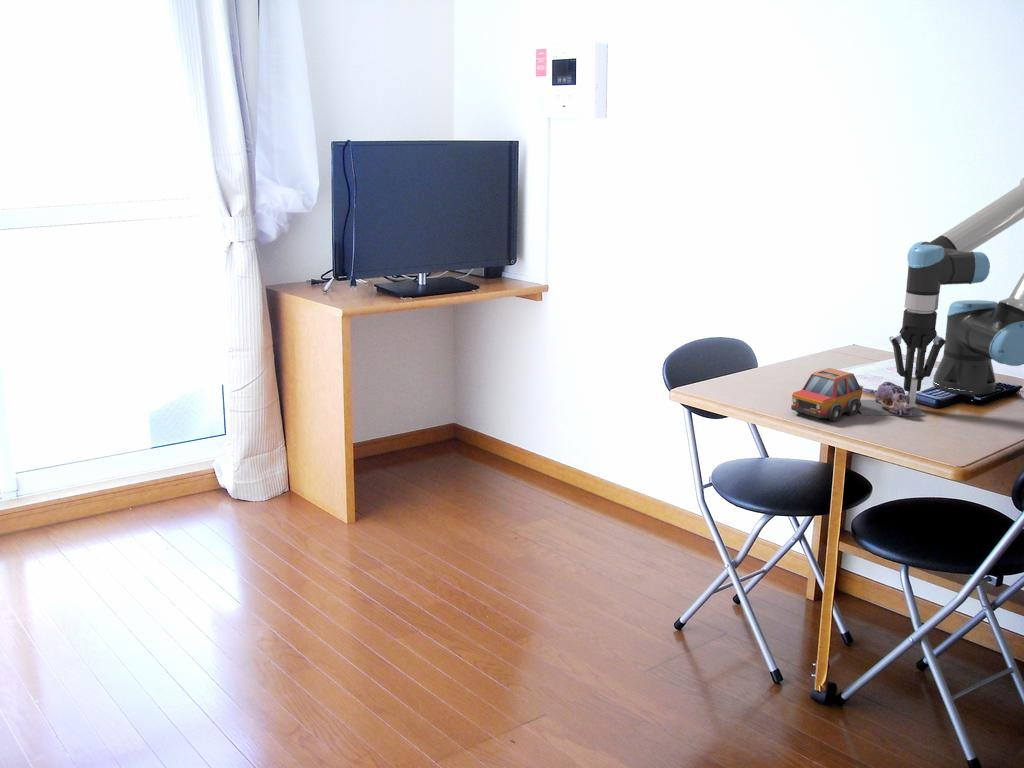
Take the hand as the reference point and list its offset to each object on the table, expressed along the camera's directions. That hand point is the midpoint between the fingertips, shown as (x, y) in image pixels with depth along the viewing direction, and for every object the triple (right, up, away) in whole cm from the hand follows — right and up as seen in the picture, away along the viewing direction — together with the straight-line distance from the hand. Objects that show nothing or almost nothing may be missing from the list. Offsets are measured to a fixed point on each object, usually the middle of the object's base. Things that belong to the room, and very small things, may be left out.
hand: (910, 403), depth 258 cm
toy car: (-21, -3, -1) cm, 21 cm away
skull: (-5, -2, -1) cm, 5 cm away
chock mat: (-5, -1, +1) cm, 5 cm away
